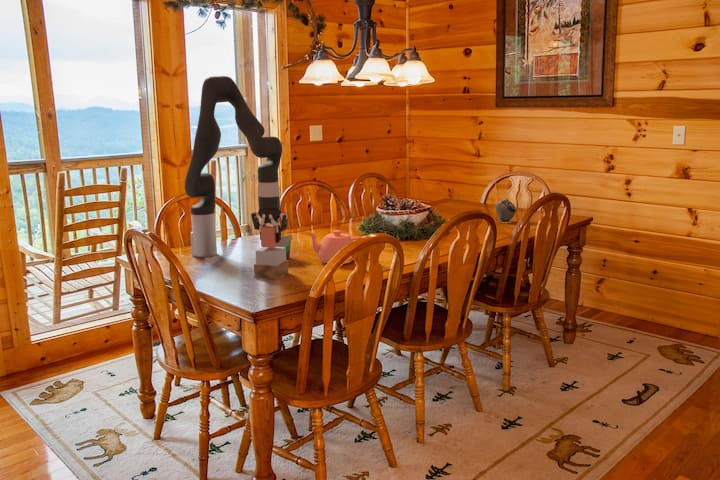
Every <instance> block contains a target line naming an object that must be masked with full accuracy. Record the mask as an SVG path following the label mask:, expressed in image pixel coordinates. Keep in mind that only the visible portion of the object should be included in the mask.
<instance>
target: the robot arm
mask: <svg viewBox="0 0 720 480" xmlns="http://www.w3.org/2000/svg"><path fill="white" fill-rule="evenodd" d="M200 96H201V97H200V106H199V117H198V121H197V126H196V127H197V128H196V131H195V136H194V142H193V148H192V155H191V158H190V162H189V165H188V169H187V171H186V172H187V173H186V175H185V178H184V179H185V180H184V191H185V194H186V195H187V197H189V198H200V200H199V201H198V202H197V203H195V204H193V205H192V206H191V207H190V217H191V218H190V219H191V232H189V233H190V234H189V237H190V247H191V249H190V250H191V256H193V257H198V258H208V257H209V258H210V257H213V256H216V255H217V254H218V251H217V250H218V249H217V248H218V247H217V232H216V230H217V229H216V218H215V217H216V216H215V215H216V214H215V207H216V187H215V186H216V184H215V178H214V177H213V175H212V174H211V173H209V172H203V170H204V168H205V167H206V166H207V165H208V163H209V162H210V161H211V160H212V159H213V158H214V157H215V155H216V154H217V152H218V150H219V148H220V143H221V138H222V132H221V128H220V127H219V123H218V122H217V120H216V117H215V110H216V105H217V103H218V104H219V103H227V102H228V103H229V104H230V105H231V106H232V107H233V108H234V120H235V124H236V126H237V127H238V129H239V130H240V132H241V133H242V134H243V135H244V137H246V140H247V142H248V145H249V147H250V150H251V153H252V154H253V155H254V156H255V157H257V158H260V159H265V158H266V160H265V162H264V163H263V164H260V165H259V166H258V167H257V181H258V182H257V201H258V211H257V212H256V211H254V212H252V213H251V214H250V217H251V220H252V225H253V227H254V228H253V229H254V230H257V231H259V240H260V241H261V230H260V228H261V227H264V226H266V225H268V224H270V225H273V227H274V228H275V231H276V233H275V237H276V243H279V242H280V241H281V236H282V232H283V231H286V230H287V226H288V221H289V216H290V215H289V213H283V212H282V211H281V197H280V196H281V195H280V194H281V192H280V191H281V190H280V184H279V167H280V163H281V158H282V153H283V143H282V142H281V140H280V139H279V138H278V137H277V136H264V135H265V133H266V132H265V128H264V126H263V125H262V123H261V122H260V121H259V120H258V118H257V117H256V115H254V113H253V112H252V111H251V109H250V107H249V106H248V104H247V101H246V100H245V98H244V96H243V95H242V93H241V91H240V88H239V87H238V85H237V84H236V82H235V80H234V79H232V77H230V76H226V75H220V76H219V75H218V76H217V75H216V76H215V75H214V76H208V77H206V78H205V79H204V81H203V83H202V87H201V95H200ZM259 218H260V220H259ZM279 219H280V220H281V222H280V220H279Z"/></svg>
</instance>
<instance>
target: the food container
mask: <svg viewBox="0 0 720 480" xmlns="http://www.w3.org/2000/svg"><path fill="white" fill-rule="evenodd" d="M292 240H293V235H292V233H289V234H287V235H281V241H280V245H279V246H277V247H286V260H288V261H289V260H290V257H291V256H290V255H291V242H292Z"/></svg>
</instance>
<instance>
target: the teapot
mask: <svg viewBox="0 0 720 480" xmlns="http://www.w3.org/2000/svg"><path fill="white" fill-rule="evenodd" d="M306 232H307V233H308V234H309V235H310V236H311V240H312V249H313V250H314V252H315V253H316V254H317V257H318V259H319V260H320V261H321V263H323V264H326V263H327V262H328V261H329V260H330V259H331V258H332V257H333V256H334V255H335V254H336V253H337V252H338V251H339V250H341V249H342V248H343V247H345V246H346V245H348V244H349V243H351V242H354V241H358V240H357V239H359V238H361V237H362V236H355V237H351V236H350V235H349V234H348V233H342V230H339V229H337V230H336V229H335V230H333V231H332V232H333V233H332V232H331V233H328V234H327V233H326V235H324V237H323V239H322V241H321V242H320V244H319V243H318V240H317V236H316V234H315V233H314V232H312V231H309V230H307V231H306ZM352 260H353V259H352V258H350V259H349V260H348V261H352ZM348 261H347V262H348Z"/></svg>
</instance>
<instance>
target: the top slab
mask: <svg viewBox="0 0 720 480" xmlns="http://www.w3.org/2000/svg"><path fill="white" fill-rule="evenodd" d="M285 261H286V247H275V248H269V247H261V248H258V249H256V250H255V264H256V265H268V266H278V265H280V264H281V263H283V262H285Z"/></svg>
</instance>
